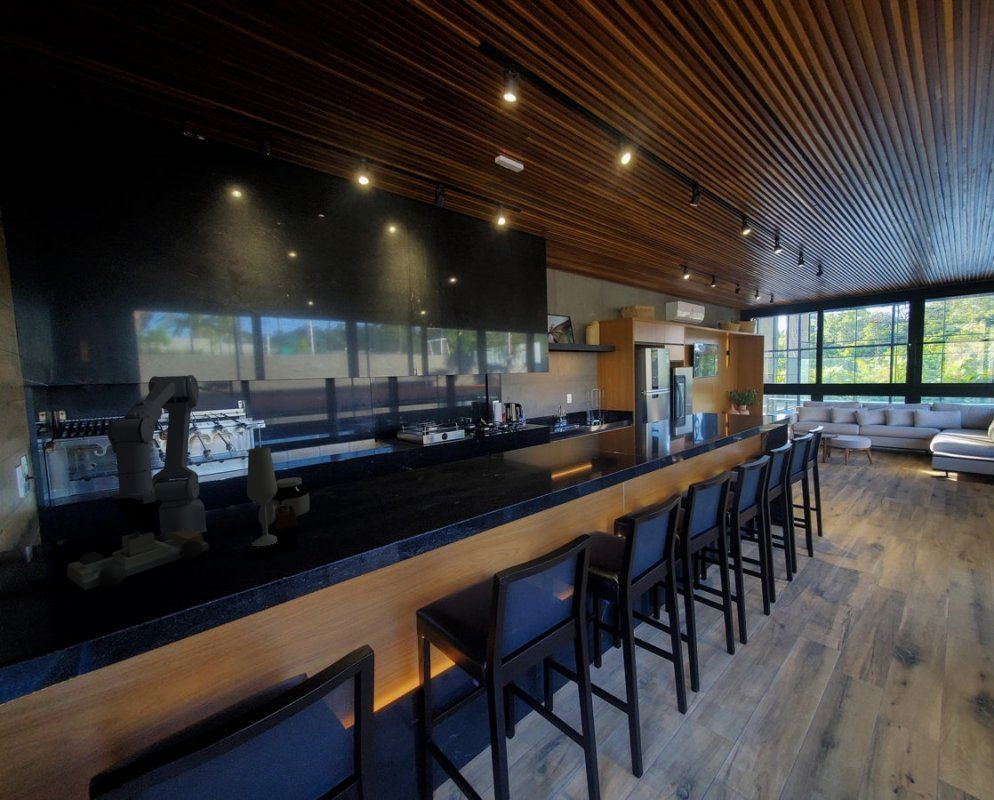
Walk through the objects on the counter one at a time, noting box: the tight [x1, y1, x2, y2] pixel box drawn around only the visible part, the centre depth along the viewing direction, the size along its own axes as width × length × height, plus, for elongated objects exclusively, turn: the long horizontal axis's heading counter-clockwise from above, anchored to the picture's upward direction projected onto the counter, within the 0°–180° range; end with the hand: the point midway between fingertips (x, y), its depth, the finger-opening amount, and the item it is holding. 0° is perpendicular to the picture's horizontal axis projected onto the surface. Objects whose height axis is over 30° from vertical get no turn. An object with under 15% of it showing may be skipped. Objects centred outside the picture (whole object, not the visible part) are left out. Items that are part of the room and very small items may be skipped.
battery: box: [275, 503, 299, 553], centre depth 102 cm, size 4×7×10 cm, turn 30°
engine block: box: [121, 530, 156, 558], centre depth 94 cm, size 4×4×6 cm
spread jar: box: [258, 476, 311, 526], centre depth 121 cm, size 12×11×12 cm
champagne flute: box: [246, 446, 277, 548], centre depth 105 cm, size 7×7×24 cm
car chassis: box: [66, 529, 210, 591], centre depth 94 cm, size 22×15×4 cm
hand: (140, 530), depth 94 cm, fingers open, 7 cm apart
